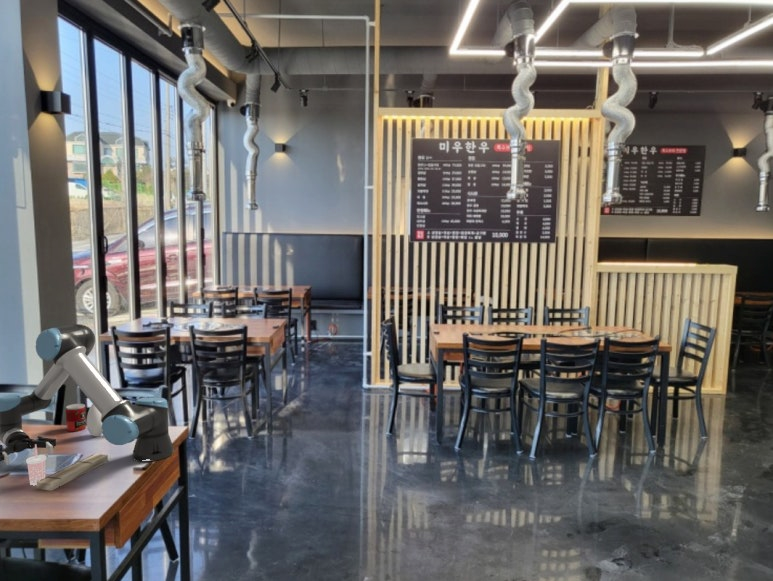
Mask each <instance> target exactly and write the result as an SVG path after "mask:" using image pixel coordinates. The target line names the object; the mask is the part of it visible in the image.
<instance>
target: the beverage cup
mask: <svg viewBox="0 0 773 581" xmlns="http://www.w3.org/2000/svg"><path fill="white" fill-rule="evenodd" d="M34 452H35V453H34V454H35V455H32V456H30V457H27V458H26V460H25V462H26V464H27V470H28V471H27V472H28V478H29V485H30V486H31V485H33V486H34V487H36V486H37V482H38V481H40V480H42V479H44V478H46V477H47V474H46V468H47V467H46V465H47V464H46V463H47V462H46V461H47V455H45V454H39V455H38V448H37V445H36V444H35V448H34ZM35 485H36V486H35ZM33 486H32V487H33Z"/></svg>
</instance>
